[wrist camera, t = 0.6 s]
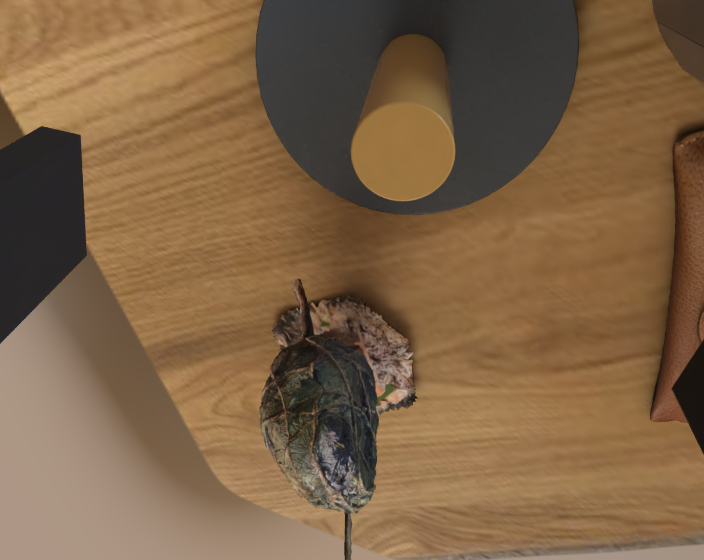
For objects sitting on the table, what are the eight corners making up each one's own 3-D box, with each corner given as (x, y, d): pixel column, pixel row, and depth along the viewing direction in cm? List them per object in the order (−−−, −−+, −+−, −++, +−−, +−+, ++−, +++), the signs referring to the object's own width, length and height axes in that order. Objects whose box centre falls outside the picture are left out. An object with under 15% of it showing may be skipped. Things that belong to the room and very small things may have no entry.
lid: (283, -157, 23) (180, -197, 14) (629, -75, 23) (765, -57, 14) (247, 170, 30) (163, 292, 21) (510, 231, 31) (545, 380, 21)
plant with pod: (405, 252, 32) (376, 647, 15) (421, 410, 38) (413, 823, 21) (257, 261, 33) (78, 633, 16) (295, 413, 39) (191, 802, 22)
